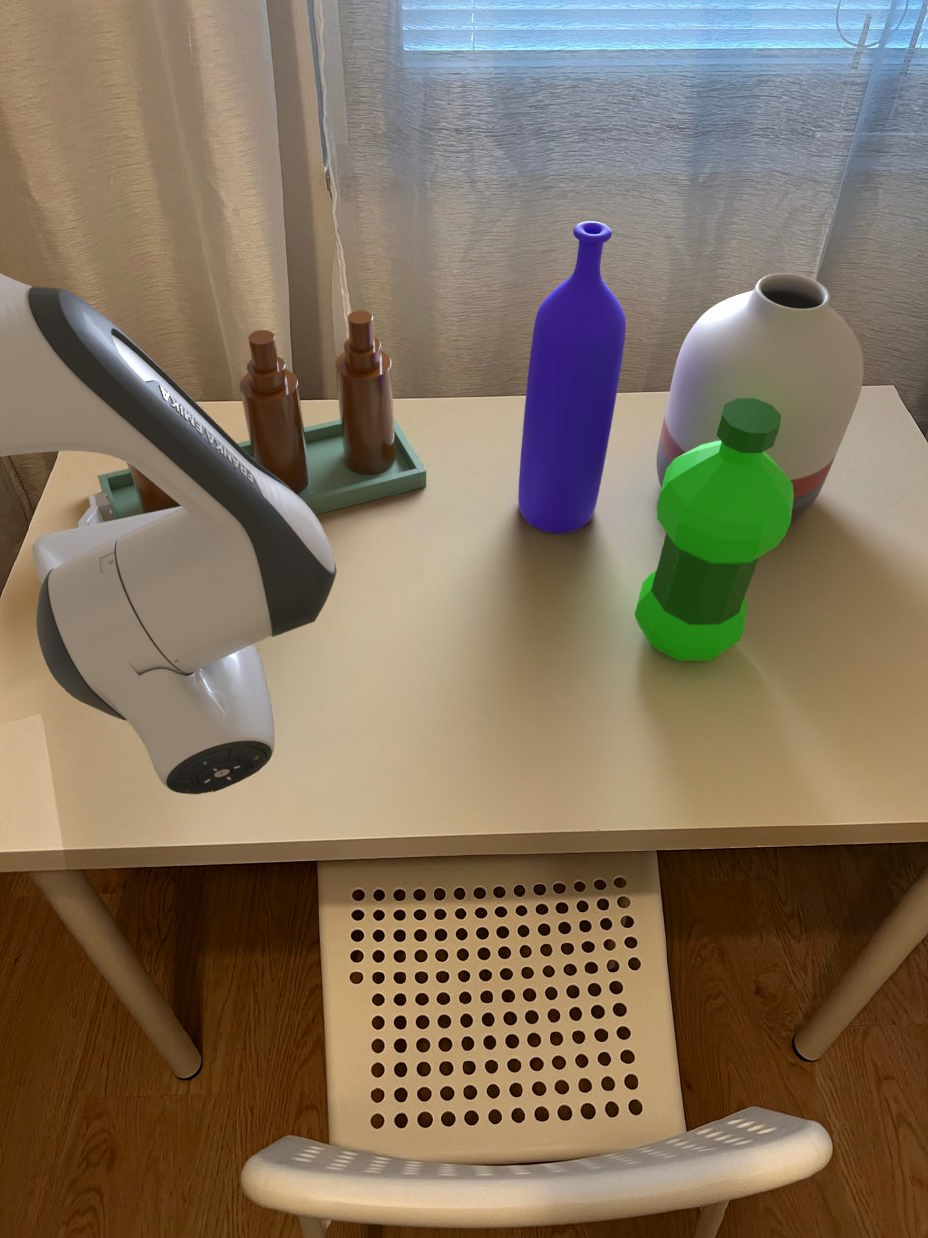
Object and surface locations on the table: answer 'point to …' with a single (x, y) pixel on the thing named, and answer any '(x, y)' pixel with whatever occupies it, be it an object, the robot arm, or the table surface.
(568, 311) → the bottle
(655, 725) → the table surface
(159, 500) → the amber bottle
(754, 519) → the plastic bottle
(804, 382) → the vase
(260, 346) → the row bottle
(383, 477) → the tray
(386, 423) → the row bottle
